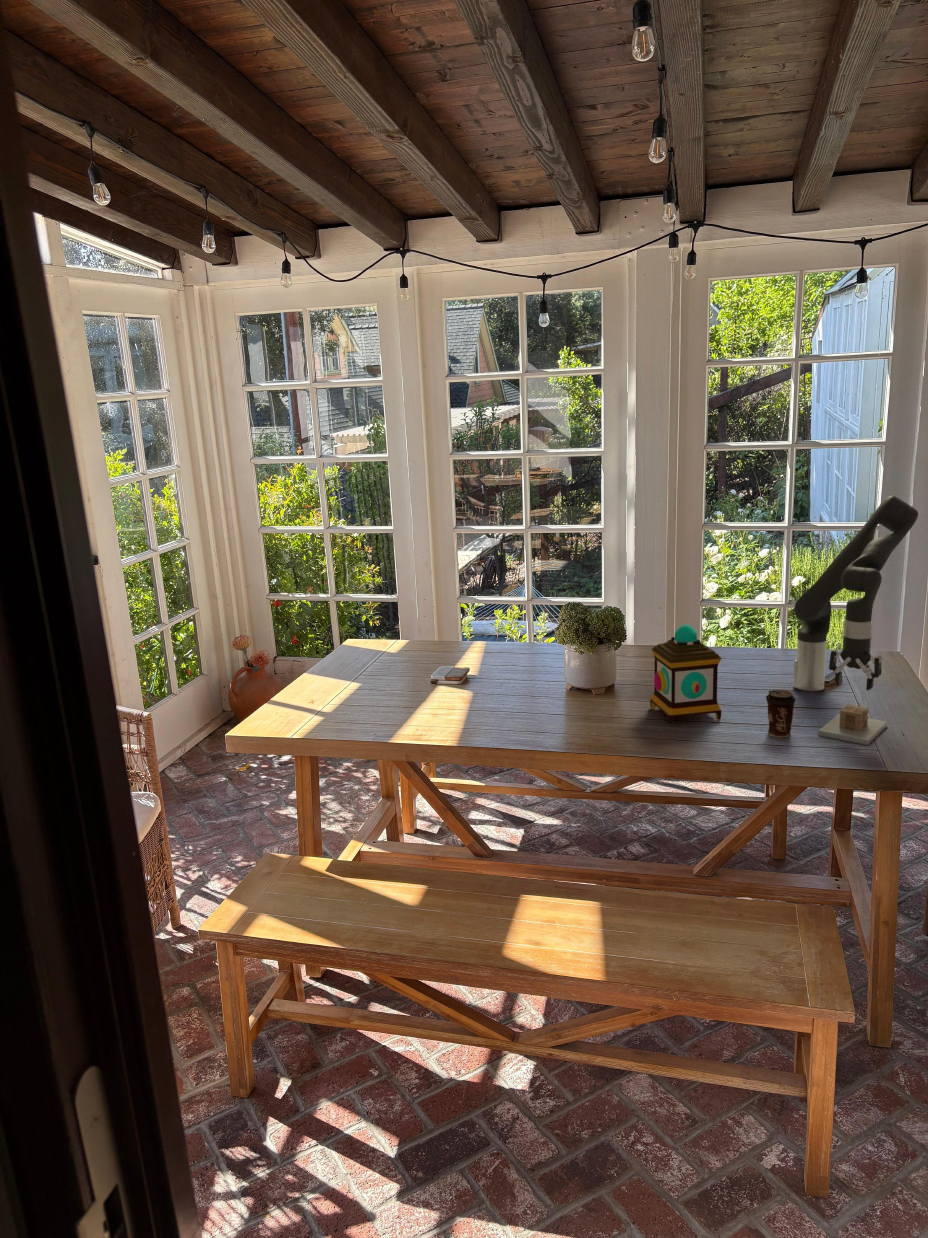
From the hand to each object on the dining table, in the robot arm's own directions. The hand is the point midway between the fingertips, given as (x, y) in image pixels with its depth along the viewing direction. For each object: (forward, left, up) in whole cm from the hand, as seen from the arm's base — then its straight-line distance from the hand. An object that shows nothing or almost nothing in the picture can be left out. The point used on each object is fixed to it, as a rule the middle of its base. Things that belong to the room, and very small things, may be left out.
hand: (853, 687), depth 269 cm
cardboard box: (+1, 0, -12) cm, 12 cm away
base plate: (0, 0, -14) cm, 14 cm away
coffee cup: (-17, -14, -14) cm, 26 cm away
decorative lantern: (-48, -14, -14) cm, 51 cm away
